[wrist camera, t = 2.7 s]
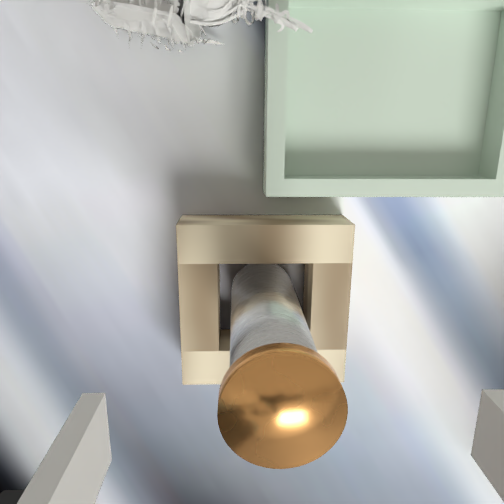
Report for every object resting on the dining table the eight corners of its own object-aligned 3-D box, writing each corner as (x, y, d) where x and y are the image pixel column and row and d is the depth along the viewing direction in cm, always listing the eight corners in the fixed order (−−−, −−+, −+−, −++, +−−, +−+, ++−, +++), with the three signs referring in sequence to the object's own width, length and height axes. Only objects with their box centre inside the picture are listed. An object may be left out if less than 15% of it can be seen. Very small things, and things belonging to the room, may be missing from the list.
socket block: (187, 359, 30) (182, 384, 27) (182, 215, 27) (175, 225, 24) (333, 358, 30) (343, 382, 27) (342, 214, 27) (355, 224, 24)
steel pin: (225, 324, 29) (218, 470, 17) (224, 255, 28) (216, 356, 15) (297, 323, 29) (343, 467, 17) (299, 254, 28) (351, 354, 15)
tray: (263, 190, 27) (265, 196, 24) (265, -11, 24) (269, -26, 21) (486, 191, 27) (510, 196, 25) (515, -6, 24) (546, -21, 22)
